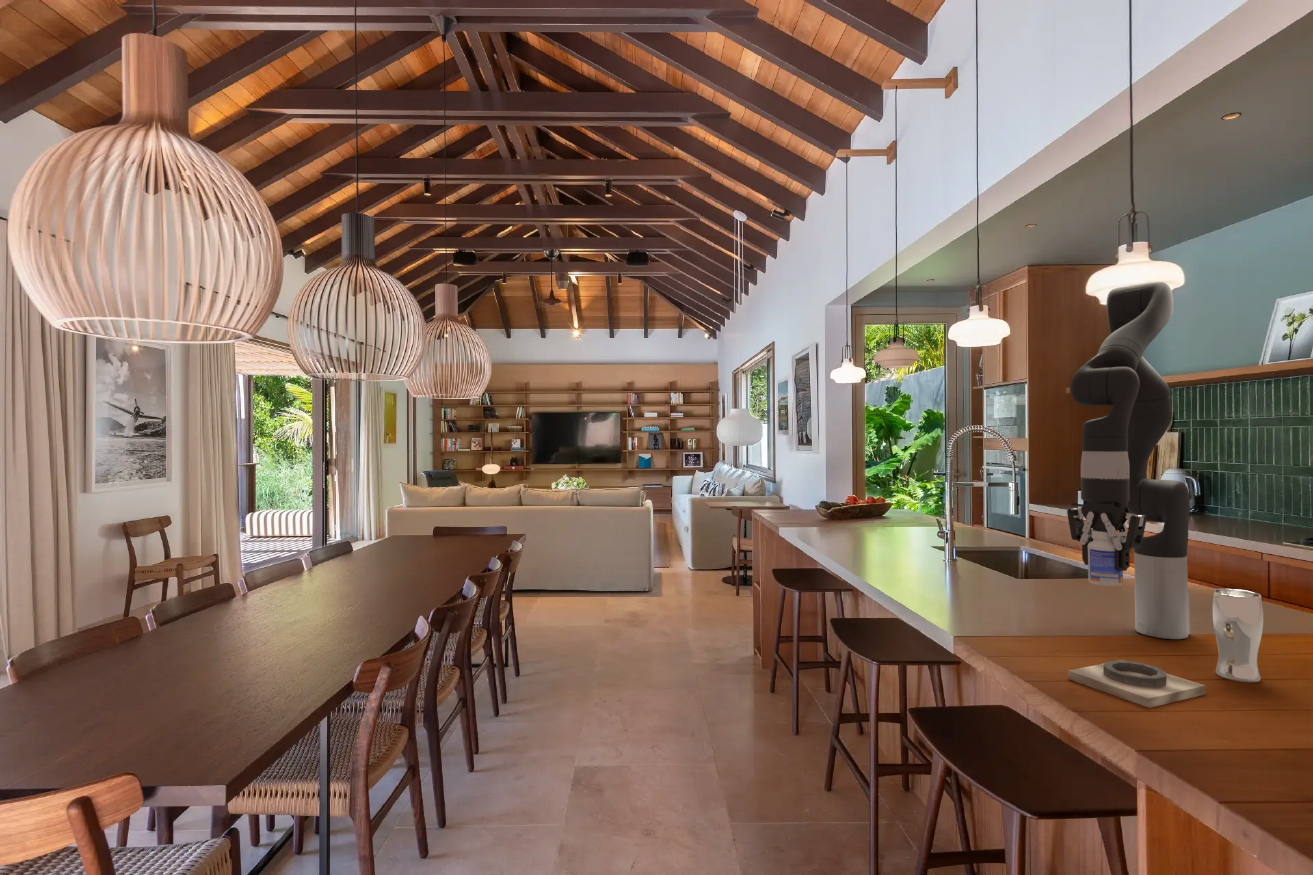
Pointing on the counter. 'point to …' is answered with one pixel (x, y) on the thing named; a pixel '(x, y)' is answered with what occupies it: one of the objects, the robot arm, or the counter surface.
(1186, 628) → the robot arm
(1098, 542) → the pill bottle
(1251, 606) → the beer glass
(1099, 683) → the collar base
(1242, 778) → the counter surface
